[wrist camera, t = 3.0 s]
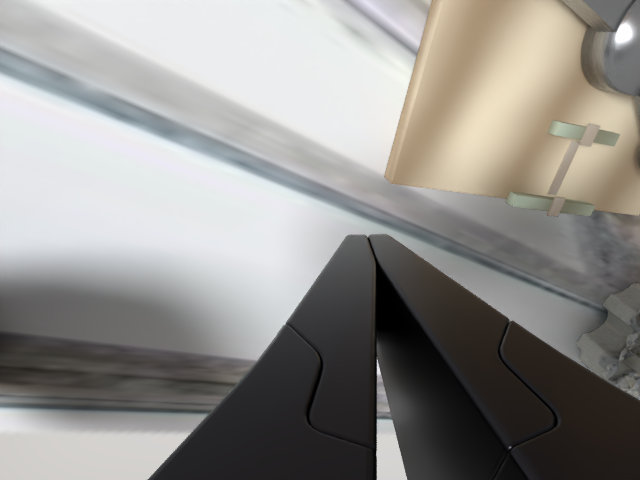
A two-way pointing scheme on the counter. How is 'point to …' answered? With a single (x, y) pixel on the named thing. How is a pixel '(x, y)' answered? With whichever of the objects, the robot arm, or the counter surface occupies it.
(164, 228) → the counter surface
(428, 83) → the wooden cutting board
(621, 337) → the egg carton
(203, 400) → the counter surface
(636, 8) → the capstan
